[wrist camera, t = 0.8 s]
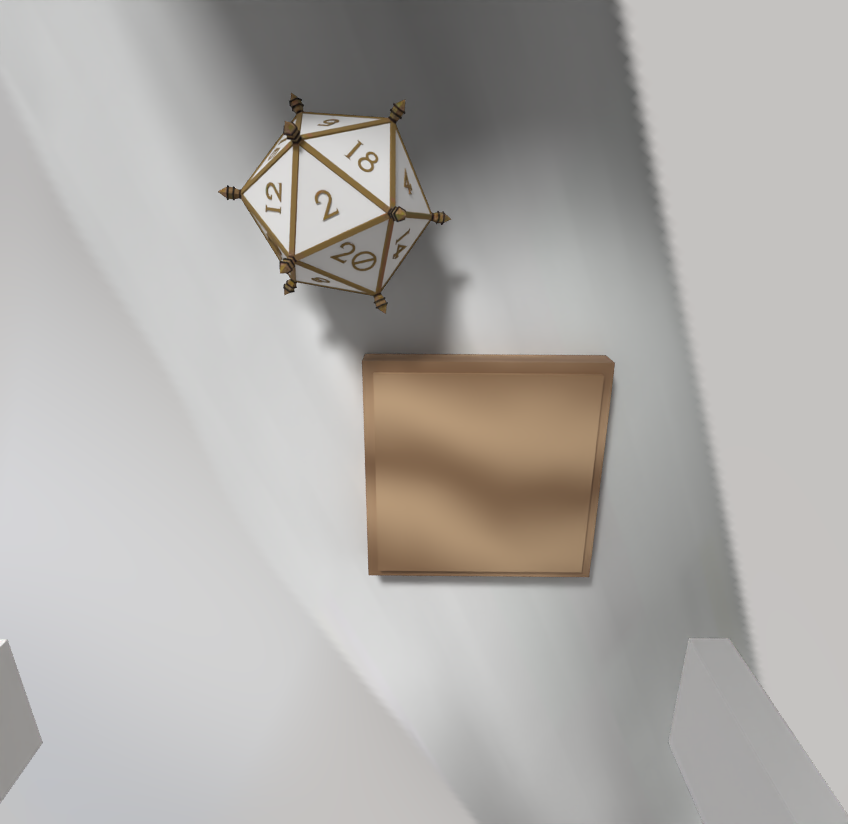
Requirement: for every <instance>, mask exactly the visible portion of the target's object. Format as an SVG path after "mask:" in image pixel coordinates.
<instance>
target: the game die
mask: <svg viewBox="0 0 848 824" xmlns="http://www.w3.org/2000/svg"><path fill="white" fill-rule="evenodd" d="M301 101H302V99H300V98H298V97H296V96H295V95H294V94H293V93H291V100H290V101H289V104H290V106H291V107H292V111H294V112H295V113H296V116H295V117H294V119H293V120H292V121H291V123H290V122H287V121H285V126H284V131H283V134H282V135H281V136H280V138H279V139H278V140H277V142H276V143H275V144H274V146H273V147H272V149H271V150H270V151H269V153H268V154H267V155H266V157H265V158H264V159H263V161H262V162H261V163H260V165H259V166H258V168H257V169H256V170H255V172H254V173H253V174H252V176H251V177H250V178H249V180H248V181H247V182H246V184H245V185H244V187H243V188H242V189H241V190H238V189H236V188H235V187H234V186H233V187H229V186H228V185H227V187H225V188H224V189H222V190H220V191H218V192H219V193H220V194H222V195H223V196H224V197H226V198H227V200H229V199H233V200H235V199H238V198H240V199H242V201H243V203H244V204H245V206H246V207H247V209H248V211H249V212H250V214H251V215H252V217H253V219H254V220H255V222H256V224H257V225H258V227H259V228H260V230H261V232H262V233H263V235H264V236H265V238H266V240H267V241H268V243H269V244H270V246H271V248H272V249H273V251H274V253H275V254H276V256H277V257H278V259H279V261H280V273H286V274H288V275H289V277H290V278H291V279H289V280H287V281H286V284H284V287H283V288H284V295H286V294H288V293H291V292H294V289H295V288H297V287H296V283H297V282H298V283H304V284H310V285H315V286H321V287H326V288H332V289H338V290H343V291H349V292H355V293H360V294H366V295H371V296H374V299H375V302H374V303H375V304H376V306H377V307H376V308H378V309H379V310H381V311H382V312H384V313H385V314H386V306H387V304H388V303H386V301H385V297H383V296H382V295H381V291H382V290H383V289H384V287H385V286H386V284H387V283H388V281H389V280H390V279H391V277H392V276H393V274H394V273H395V271H396V270H397V268H398V267H399V266H400V264H401V263H402V261H403V260H404V258H405V257H406V256H407V254H408V253H409V251H410V250H411V248H412V247H413V246H414V244H415V243H416V241H417V240H418V238H419V237H420V236H421V234H422V233H423V231H424V230H425V228H426V227H427V226H428V224H429V223H430V221H434V222H436V224H437V223H441V225H442V224H443V223H445V222H447V221H449V220H451V218H449V217H448V216H447V215H446V214H445V213H444V211H443V212H439V211H437V212H436V213H432V212H431V210H430V207H429V205H428V202H427V200H426V197H425V195H424V193H423V190H422V188H421V185H420V183H419V180H418V178H417V175H416V173H415V170H414V168H413V165H412V163H411V160H410V158H409V155H408V153H407V150H406V148H405V146H404V143H403V141H402V138H401V136H400V133H399V131H398V128H397V126H396V121H398V120H399V119H401V118H402V117H401V116H402V115H403V113H404V114H405V100H402V101H400V102H398V103H396V104H393V105H394V106H393V108H392V109H390V111H391V113H390V116H389V117H388V118H384V117H370V116H356V115H342V114H328V113H314V112H304V111H303V106H304V105H303V104H302V102H301Z"/></svg>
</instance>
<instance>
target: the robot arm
mask: <svg viewBox="0 0 848 824" xmlns="http://www.w3.org/2000/svg"><path fill="white" fill-rule="evenodd" d="M42 743H43V742H42V739H41V736H40V734H39V730H38V728H37V725H36V722H35V719H34V716H33V713H32V710H31V707H30V704H29V701H28V698H27V695H26V692H25V689H24V687H23V684H22V681H21V678H20V675H19V672H18V669H17V666H16V663H15V660H14V657H13V654H12V651H11V649H10V646H9V643H8V640H7V639H6V640H5V639H3V640H1V639H0V803H1V802H2V800H3V799H4V797H5V796H6V794H7V793H8V792H9V790H10V789H11V787H12V786H13V785H14V783H15V782H16V780H17V779H18V777H19V776H20V775H21V773H22V772H23V770H24V769H25V767H26V766H27V764H28V763H29V762H30V760H31V759H32V757H33V756H34V755H35V753H36V752H37V750H38V749H39V747H40V746H41V744H42ZM668 744H669V746H670V748H671V751H672V753H673V755H674V758H675V760H676V762H677V765H678V767H679V769H680V771H681V774H682V776H683V778H684V781H685V783H686V785H687V788H688V790H689V792H690V795H691V797H692V799H693V801H694V804H695V806H696V808H697V811H698V813H699V815H700V818H701V820H702V822H703V824H848V814H847V813H846V811H845V810H844V808H843V807H842V805H841V804H840V802H839V801H838V799H837V798H836V796H835V795H834V793H833V792H832V791H831V789H830V787H829V786H828V784H827V783H826V781H825V780H824V779H823V777H822V776H821V774H820V773H819V771H818V770H817V768H816V767H815V765H814V764H813V762H812V761H811V759H810V758H809V756H808V755H807V753H806V752H805V750H804V749H803V747H802V746H801V744H800V743H799V741H798V740H797V738H796V737H795V735H794V734H793V732H792V731H791V729H790V728H789V726H788V725H787V723H786V722H785V721H784V719H783V718H782V716H781V715H780V713H779V712H778V710H777V709H776V707H775V706H774V704H773V703H772V701H771V700H770V698H769V697H768V695H767V694H766V692H765V691H764V689H763V688H762V686H761V685H760V683H759V682H758V680H757V679H756V677H755V676H754V674H753V673H752V671H751V670H750V668H749V667H748V665H747V664H746V663H745V661H744V660H743V658H742V657H741V655H740V654H739V652H738V651H737V649H736V648H735V646H734V645H733V643H732V642H731V640H730V639H729V638H689V639H688V644H687V649H686V655H685V660H684V665H683V670H682V675H681V680H680V685H679V690H678V695H677V700H676V705H675V710H674V715H673V720H672V725H671V731H670V736H669V741H668Z"/></svg>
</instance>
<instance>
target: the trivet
mask: <svg viewBox="0 0 848 824" xmlns="http://www.w3.org/2000/svg"><path fill="white" fill-rule="evenodd" d="M614 366H615V363H614V362H613V361H612V360H611V359H610V358H608V357H607V356H606V355H479V354H365V355H364V358H363V360H362V376H363V409H364V441H365V474H366V506H367V539H368V572H369V575H402V576H521V577H589V573H590V565H591V557H592V548H593V540H594V532H595V524H596V515H597V507H598V499H599V490H600V482H601V474H602V466H603V457H604V449H605V441H606V432H607V424H608V416H609V408H610V399H611V391H612V383H613V375H614Z"/></svg>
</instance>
